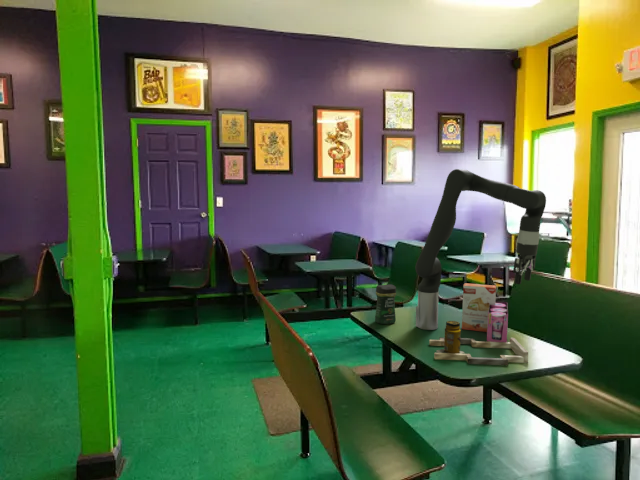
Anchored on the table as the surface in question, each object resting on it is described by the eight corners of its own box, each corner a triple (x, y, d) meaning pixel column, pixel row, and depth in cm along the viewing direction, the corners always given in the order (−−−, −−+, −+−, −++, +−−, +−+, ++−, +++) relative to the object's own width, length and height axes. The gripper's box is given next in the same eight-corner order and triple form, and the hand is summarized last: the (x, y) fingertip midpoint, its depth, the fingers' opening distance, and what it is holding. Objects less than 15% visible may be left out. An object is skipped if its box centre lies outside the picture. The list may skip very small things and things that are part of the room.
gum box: (507, 348, 181) (508, 315, 179) (486, 345, 184) (487, 313, 182) (506, 331, 203) (508, 302, 201) (488, 329, 206) (489, 300, 204)
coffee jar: (380, 325, 213) (380, 287, 211) (372, 321, 220) (373, 284, 218) (398, 323, 216) (398, 285, 214) (390, 319, 223) (390, 282, 222)
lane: (436, 362, 165) (436, 352, 165) (428, 341, 189) (428, 332, 189) (531, 366, 161) (531, 355, 161) (511, 344, 185) (511, 335, 185)
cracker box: (461, 329, 205) (462, 285, 203) (462, 326, 211) (464, 282, 209) (494, 333, 200) (495, 287, 198) (494, 329, 206) (496, 284, 204)
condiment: (464, 352, 176) (465, 323, 175) (450, 357, 171) (451, 326, 170) (450, 347, 182) (450, 318, 181) (435, 351, 177) (436, 322, 176)
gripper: (525, 238, 182) (520, 277, 185) (509, 242, 172) (505, 282, 175) (545, 241, 176) (539, 281, 179) (529, 245, 167) (524, 287, 170)
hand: (522, 282), depth 177 cm, fingers open, 8 cm apart
